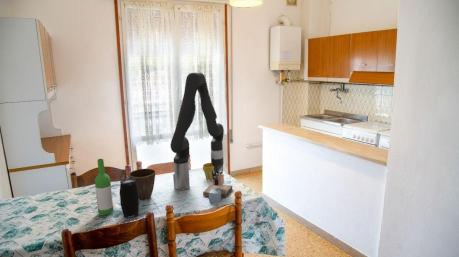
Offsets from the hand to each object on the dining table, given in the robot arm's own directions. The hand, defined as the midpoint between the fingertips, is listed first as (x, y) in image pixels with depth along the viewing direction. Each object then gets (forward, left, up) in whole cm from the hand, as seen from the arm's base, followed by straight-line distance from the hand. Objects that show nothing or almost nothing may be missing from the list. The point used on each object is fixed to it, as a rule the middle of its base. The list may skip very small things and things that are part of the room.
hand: (218, 183), depth 195 cm
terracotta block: (0, 0, -1) cm, 1 cm away
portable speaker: (-35, -40, -6) cm, 54 cm away
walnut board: (0, 0, -6) cm, 6 cm away
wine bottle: (-50, -41, -6) cm, 65 cm away
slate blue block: (+2, -11, -6) cm, 13 cm away
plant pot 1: (-40, -19, -6) cm, 45 cm away
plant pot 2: (-13, +22, -6) cm, 26 cm away
